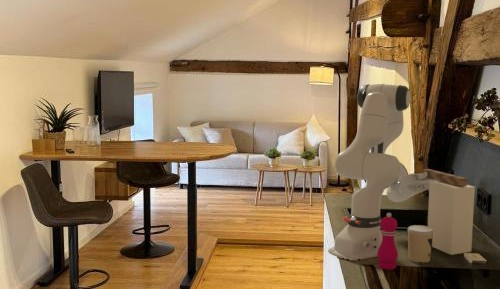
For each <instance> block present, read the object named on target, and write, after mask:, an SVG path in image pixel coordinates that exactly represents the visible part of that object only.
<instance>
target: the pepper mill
mask: <svg viewBox="0 0 500 289" xmlns="http://www.w3.org/2000/svg"><path fill="white" fill-rule="evenodd" d="M397 228H398V222H397V220H396V218H394V217H392V213H391V212H387V213H386V216H384V217H383V218H382V217H381V222H380V231H381V236H382V243H381V245H380V247H379V249H378V253H377V256H378V259H379V260H378V262H377V263H378V264H377V265H378V267H379V268H380V269H383V270H394V269H396V268H397V259H398V257H399V252H398V250H397V247H396V244H395V235H396V232H397V231H396V230H397Z"/></svg>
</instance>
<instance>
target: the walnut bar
mask: <svg viewBox="0 0 500 289" xmlns="http://www.w3.org/2000/svg"><path fill="white" fill-rule="evenodd" d="M424 172H429V176H428V177H427V178H431V179H434V180H438V181H442V182H446V183H449V184H453V185H457V186H467V185H468V178H467V177H463V176H459V175H455V174H451V173H447V172H443V171H439V170H434V169H430V168H425V169H422V173H424Z"/></svg>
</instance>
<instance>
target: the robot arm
mask: <svg viewBox="0 0 500 289" xmlns="http://www.w3.org/2000/svg"><path fill="white" fill-rule="evenodd" d="M411 101H412V94H411V91H410V88H409V87H407V86H405V85H401V84H399V85H397V84H385V83H377V84H370V83H369V84H363V85H361V86H360V87H359V88H358V90H357V92H356V102H357V105H358V107H359V108H361V110H360V116H359V121H358V122H359V123H358V127H357V132H356V135H355V138H354V139H353V140H352V142H351V143H350V144H349V146H347V148H345V149H344V150H342V151H340V152H339V153H338V155H336V157H335V160H334V170H335V172H336V174H337V175H338V176H340V177H343V178H346V179H352V180H360V181H366V185H365V186H364V187H362V188H359V189H358V190H355V191H354V192H353V193H352V195H351V206H350V207H351V212H350V214H349V216H344V217H343V222H346V223H347V225H346V226H345V227H343V228H342V230H341V231H340V232H339V233H338V234H337V235H336V236H335V239H334V246H332V247H330V248H328V250H327V252H328V253H329V254H330V255H332V256H334V257H336V258H340V259H342V258H344V259H343V260H346V259H349V260H348V261H353V260H354V261H359V260H358V259H360V260H365V259H372V258H376V257H378V256H377V253H378V249H379V247H380V245H381V243H382V234H381V232H382V231H381V226H380V222H381V220H382V216H381V202H382V196H383V194H384V191H385V190H386V197H387V198H388V199H389V200H390V201H391V202H393V203H401V202H403V201H406V200H408V199H410V198H411V197H412V196H413V197H414V196H415V195H417V194H419V193H423V192H427V191H429V186H430V182H434V181H438V180H434V179H431V178H427V177H428V176H429V172H424V173H423V172H421V173H408V170H407V168H406V167H405V165H404V164H403V163H402V162H401V161H400V160H399V158H398V157H397V156H395V155H392V154H387V153H386V151H387V148H388V147H390V145H391V144H392V143H393V142H395V141H396V140H397V139H398V138H399V137H400V136H401V135H402V133H403V131H404V125H405V124H404V111H406V110H407V109H408V108H410V104H411Z"/></svg>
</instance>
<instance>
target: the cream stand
mask: <svg viewBox="0 0 500 289" xmlns="http://www.w3.org/2000/svg"><path fill="white" fill-rule="evenodd" d="M475 190H476V186H474V185H470V184H467V186H457V185H453V184H449V183H446V182H442V181H434V182H430V186H429V190H428V192H429V193H428V208H427V209H428V210H427V211H428V212H427V213H428V214H427V215H428V216H427V226H428V227H431V228H432V229H433V231H434V233H433V240H432V248H435V249H437V250H439V251H441V252H443V253H446V254H448V255H450V256H451V255H452V256H453V255H457V254H459V255H461V254H464V253H466V254H467V253H471V252H472V244H473V243H472V242H473V229H474V228H473V226H474V209H475V207H474V206H475V192H476V191H475Z"/></svg>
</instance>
